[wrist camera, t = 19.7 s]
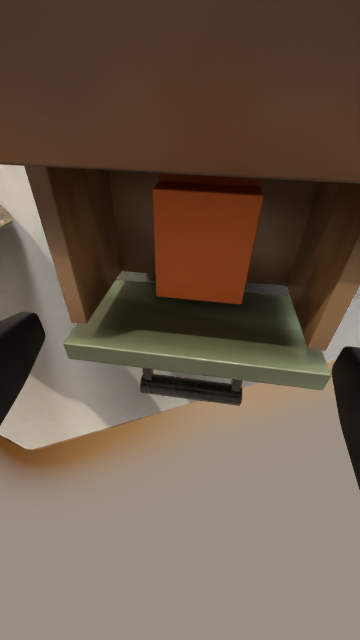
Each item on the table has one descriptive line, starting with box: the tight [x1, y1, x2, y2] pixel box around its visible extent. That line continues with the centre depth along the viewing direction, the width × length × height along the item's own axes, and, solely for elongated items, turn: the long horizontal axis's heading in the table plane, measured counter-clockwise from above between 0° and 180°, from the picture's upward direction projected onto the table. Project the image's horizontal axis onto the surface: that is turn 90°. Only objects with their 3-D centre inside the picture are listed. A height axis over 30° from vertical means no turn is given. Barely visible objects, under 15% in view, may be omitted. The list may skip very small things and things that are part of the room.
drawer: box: [25, 166, 360, 406], centre depth 14 cm, size 20×13×7 cm
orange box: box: [152, 173, 264, 304], centre depth 14 cm, size 5×7×3 cm
